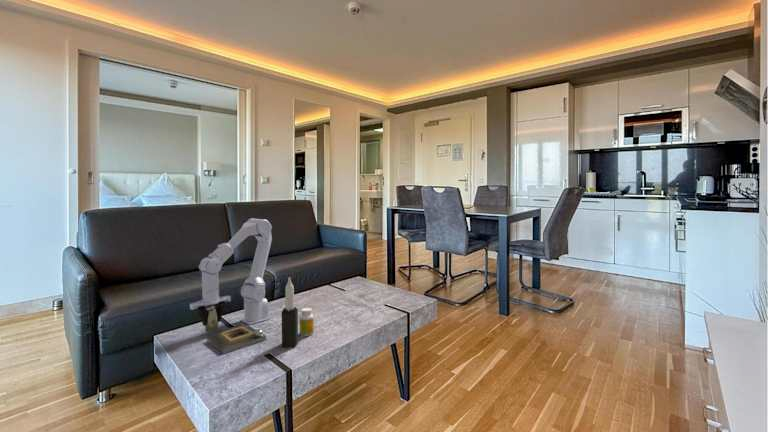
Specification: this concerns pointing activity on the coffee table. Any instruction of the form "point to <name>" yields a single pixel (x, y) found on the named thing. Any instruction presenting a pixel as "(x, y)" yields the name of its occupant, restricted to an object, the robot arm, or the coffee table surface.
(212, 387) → the coffee table surface
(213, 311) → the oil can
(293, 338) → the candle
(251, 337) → the square peg board
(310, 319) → the supplement bottle
